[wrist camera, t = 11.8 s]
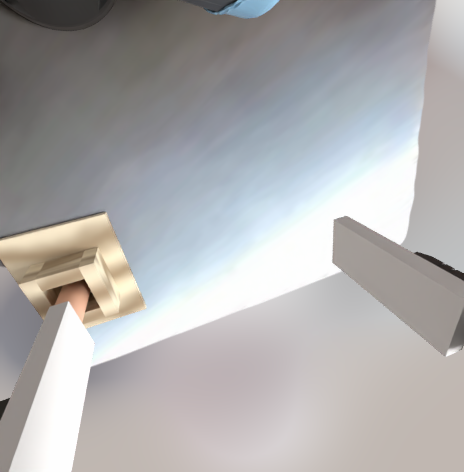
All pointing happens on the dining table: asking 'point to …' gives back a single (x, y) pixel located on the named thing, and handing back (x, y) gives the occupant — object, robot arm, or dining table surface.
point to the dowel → (75, 296)
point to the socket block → (74, 267)
